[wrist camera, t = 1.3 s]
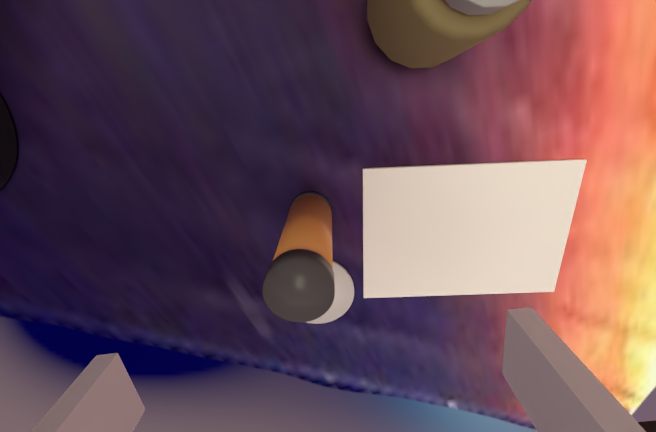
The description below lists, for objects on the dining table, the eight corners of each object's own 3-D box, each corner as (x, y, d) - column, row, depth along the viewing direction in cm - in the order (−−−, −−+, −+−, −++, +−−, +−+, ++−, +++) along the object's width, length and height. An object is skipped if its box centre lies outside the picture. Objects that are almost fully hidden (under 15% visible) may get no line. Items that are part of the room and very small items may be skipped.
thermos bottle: (291, 231, 32) (266, 323, 20) (287, 191, 31) (258, 262, 18) (333, 229, 32) (336, 321, 20) (331, 189, 31) (333, 260, 18)
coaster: (282, 321, 36) (282, 324, 36) (275, 258, 33) (274, 260, 33) (354, 318, 36) (354, 322, 36) (353, 255, 33) (353, 258, 33)
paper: (363, 295, 35) (363, 298, 35) (362, 168, 30) (362, 169, 30) (551, 289, 35) (554, 291, 34) (583, 158, 29) (586, 159, 29)
